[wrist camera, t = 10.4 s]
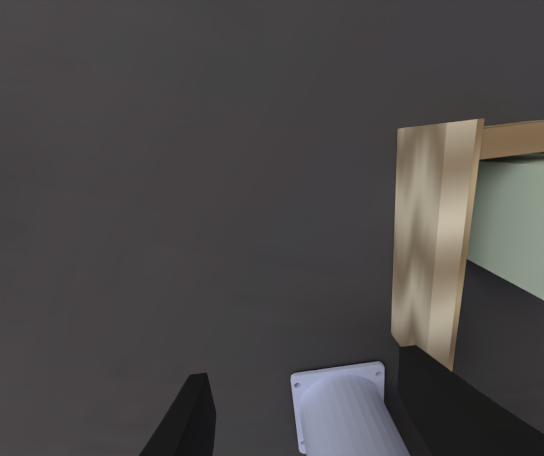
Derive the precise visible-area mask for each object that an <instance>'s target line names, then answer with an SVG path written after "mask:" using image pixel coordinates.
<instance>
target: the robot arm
mask: <svg viewBox="0 0 544 456" xmlns="http://www.w3.org/2000/svg"><path fill="white" fill-rule="evenodd" d="M384 373H385V368H384V365H383V363H382V362H380V361H376V362H369V363H362V364H355V365H348V366H341V367H334V368H327V369H320V370H313V371H306V372H298V373H294V374H292V375H291V386H292V395H293V403H294V411H295V420H296V428H297V436H298V445H299V451H300V452H301V453H303V454H305V453H306V456H410V454H409V452H408V450H407V448H406V446H405V444H404V442H403V440H402V438H401V436H400V434H399V432H398V430H397V428H396V426H395V424H394V422H393V420H392V418H391V416H390V414H389V412H388V410H387V408H386V406H385V404H384ZM296 383H298V384H296ZM397 389H398V391H399V393H400V395H401V398H402V400H403V402H404V404H405V407H406V409H407V411H408V413H409V415H410V417H411V419H412V421H413V423H414V424H415V426H416V428H417V430H418V431H419V433H420V435H421V436H422V438H423V440H424V442H425V443H426V445H427V447H428V448H429V450H430V452H431V453H432V455H433V456H544V434H543V433H541V432H540V431H538V430H536V429H535V428H533V427H532V426H530V425H528V424H527V423H525V422H524V421H522V420H521V419H519V418H518V417H516V416H515V415H513V414H512V413H510V412H509V411H507V410H506V409H504V408H503V407H501V406H500V405H498V404H497V403H495V402H494V401H492V400H491V399H489V398H488V397H487V396H485V395H484V394H482V393H481V392H479V391H478V390H477V389H475V388H474V387H472V386H471V385H470V384H468V383H467V382H465V381H464V380H463V379H461V378H460V377H459V376H457V375H456V374H455V373H453V372H452V371H450V370H449V369H448V368H446V367H445V366H444V365H442V364H441V363H440V362H438V361H437V360H436V359H434V358H433V357H432V356H430V355H429V354H428V353H426V352H425V351H424V350H422V349H421V348H420V347H418V346H417V345H411V346H404V347H400V353H399V371H398V388H397ZM215 425H216V410H215V406H214V401H213V397H212V393H211V389H210V384H209V380H208V376H207V373H201V374H193V375H190V376H189V377H188V378H187V380H186V382H185V383H184V385H183V387H182V388H181V390H180V392H179V393H178V395H177V397H176V399H175V400H174V402H173V404H172V405H171V407H170V408H169V410H168V412H167V413H166V415H165V417H164V418H163V420H162V421H161V423H160V424H159V426H158V427H157V429H156V431H155V432H154V434H153V435H152V437H151V438H150V440H149V441H148V443H147V444H146V446H145V447H144V449H143V450H142V452H141V453H140V455H139V456H212V454H213V448H214V437H215Z"/></svg>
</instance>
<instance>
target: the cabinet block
mask: <svg viewBox="0 0 544 456" xmlns="http://www.w3.org/2000/svg"><path fill="white" fill-rule="evenodd" d="M467 259H468V260H470V261H472V262H474V263H475V264H477V265H479V266H481V267H483V268H485V269H487V270H488V271H490V272H492V273H494V274H496V275H498V276H500V277H501V278H503V279H505V280H507V281H509V282H511V283H513V284H515V285H516V286H518V287H520V288H522V289H524V290H526V291H528V292H529V293H531V294H533V295H535V296H537V297H539V298H541V299H542V300H544V154H521V155H513V156H505V157H497V158H489V159H480V160H479V165H478V173H477V181H476V188H475V196H474V204H473V212H472V220H471V228H470V235H469V243H468V251H467Z"/></svg>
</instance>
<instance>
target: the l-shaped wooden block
mask: <svg viewBox="0 0 544 456" xmlns="http://www.w3.org/2000/svg"><path fill="white" fill-rule="evenodd" d="M483 126H484V119H475V120H467V121H459V122H450V123H442V124H434V125H425V126H417V127H408V128H400V129H398V135H397V166H396V196H395V227H394V258H393V288H392V319H391V334H392V335H393V337H394V338H395V339H396V341H397V342H398V344H399V345H400V346H401V347H404V346H411V345H417V346H418V347H420V348H421V349H422V350H424V351H425V352H426V353H428V354H429V355H430V356H432V357H433V358H434V359H436V360H437V361H438V362H440V363H441V364H442V365H444V366H445V367H446V368H448V369H449V370H450V371H452V369H453V361H454V353H455V345H456V337H457V329H458V322H459V314H460V306H461V298H462V290H463V282H464V275H465V267H466V259H467V251H468V243H469V235H470V228H471V220H472V212H473V204H474V196H475V188H476V181H477V173H478V165H479V160H480V159H489V158H497V157H505V156H513V155H521V154H529V153H537V152H544V120H537V121H526V122H517V123H509V124H500V125H492V126H484V127H483Z"/></svg>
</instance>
